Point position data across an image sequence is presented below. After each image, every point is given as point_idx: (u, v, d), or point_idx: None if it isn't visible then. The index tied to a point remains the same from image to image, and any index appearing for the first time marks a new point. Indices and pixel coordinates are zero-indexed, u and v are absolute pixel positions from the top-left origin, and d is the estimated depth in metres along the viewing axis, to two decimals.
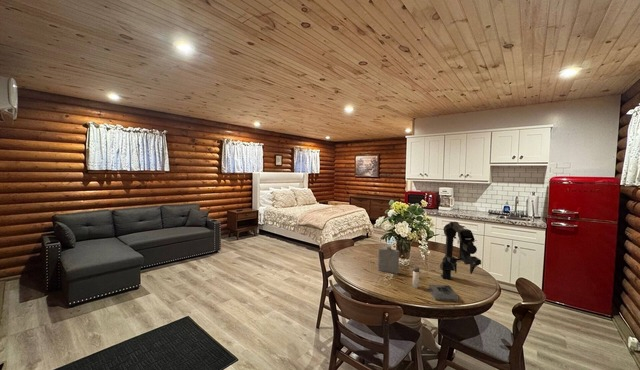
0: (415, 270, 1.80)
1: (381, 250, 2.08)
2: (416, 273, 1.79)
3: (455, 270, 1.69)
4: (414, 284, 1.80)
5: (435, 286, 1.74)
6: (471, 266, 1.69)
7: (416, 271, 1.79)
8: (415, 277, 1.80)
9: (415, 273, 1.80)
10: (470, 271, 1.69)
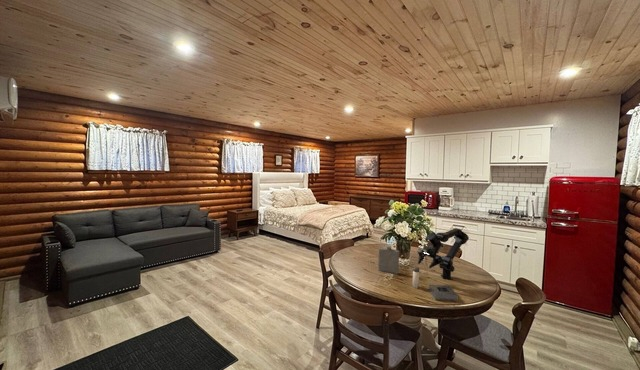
0: (415, 270, 1.80)
1: (381, 250, 2.08)
2: (416, 273, 1.79)
3: (418, 260, 1.89)
4: (414, 284, 1.80)
5: (435, 286, 1.74)
6: None
7: (416, 271, 1.79)
8: (415, 277, 1.80)
9: (415, 273, 1.80)
10: None
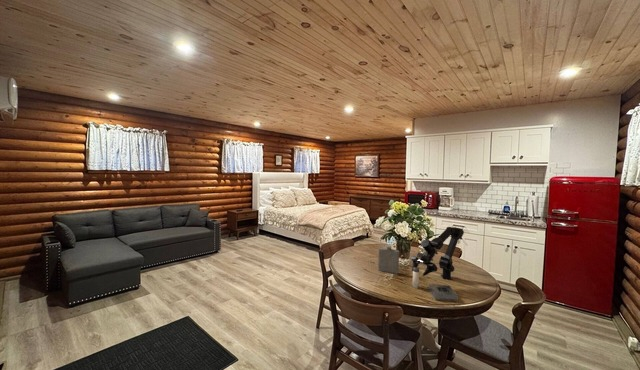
0: (415, 270, 1.80)
1: (381, 250, 2.08)
2: (416, 273, 1.79)
3: (412, 267, 1.87)
4: (414, 284, 1.80)
5: (435, 286, 1.74)
6: None
7: (416, 271, 1.79)
8: (415, 277, 1.80)
9: (415, 273, 1.80)
10: None
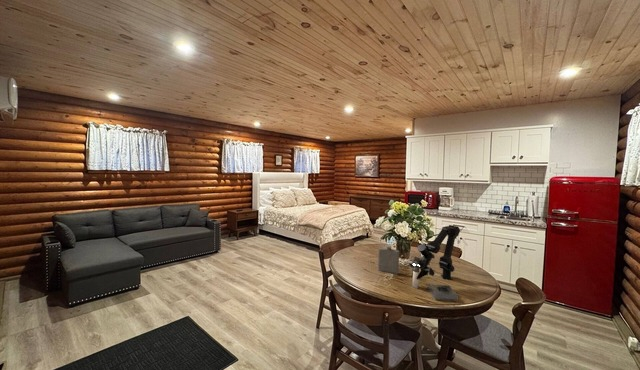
0: (415, 270, 1.80)
1: (381, 250, 2.08)
2: (416, 273, 1.79)
3: (412, 273, 1.83)
4: (414, 284, 1.80)
5: (435, 286, 1.74)
6: None
7: (416, 271, 1.79)
8: (415, 277, 1.80)
9: (415, 273, 1.80)
10: None
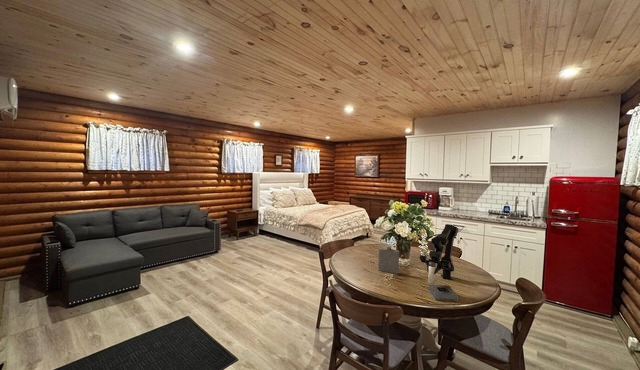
0: (432, 265, 1.71)
1: (381, 250, 2.08)
2: (433, 268, 1.71)
3: (427, 268, 1.74)
4: (431, 280, 1.71)
5: (435, 286, 1.74)
6: None
7: (433, 266, 1.70)
8: (432, 272, 1.71)
9: (432, 268, 1.71)
10: (435, 272, 1.71)
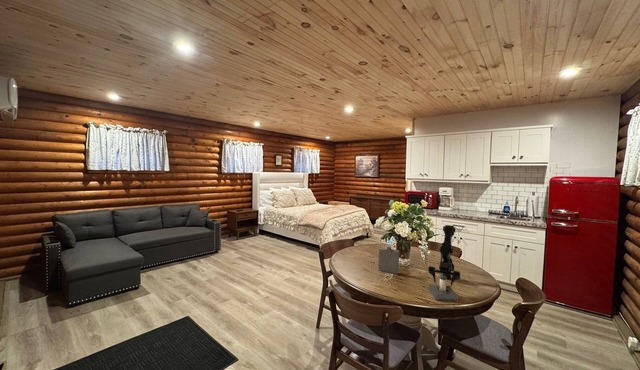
0: (444, 278, 1.67)
1: (381, 250, 2.08)
2: (445, 281, 1.67)
3: (434, 279, 1.71)
4: None
5: (435, 286, 1.74)
6: None
7: (445, 279, 1.67)
8: (444, 285, 1.67)
9: (444, 281, 1.67)
10: None
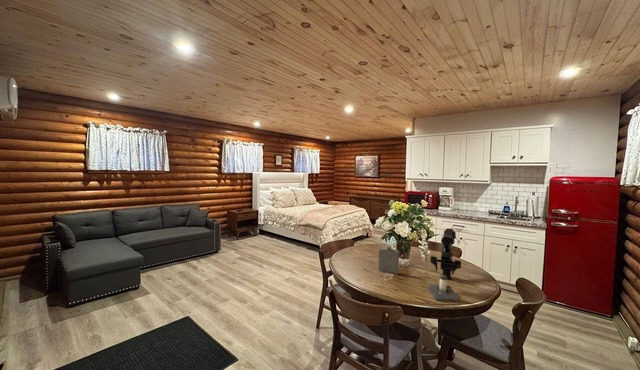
0: (444, 278, 1.67)
1: (381, 250, 2.08)
2: (445, 281, 1.67)
3: (436, 268, 1.79)
4: None
5: (435, 286, 1.74)
6: (453, 268, 1.76)
7: (445, 279, 1.67)
8: (444, 285, 1.67)
9: (444, 281, 1.67)
10: None
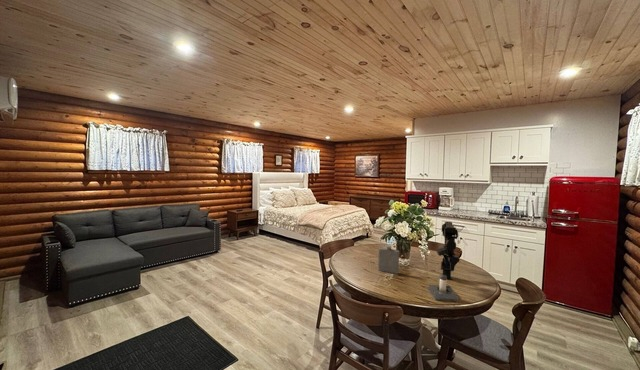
0: (444, 278, 1.67)
1: (381, 250, 2.08)
2: (445, 281, 1.67)
3: (445, 261, 1.89)
4: None
5: (435, 286, 1.74)
6: None
7: (445, 279, 1.67)
8: (444, 285, 1.67)
9: (444, 281, 1.67)
10: None
